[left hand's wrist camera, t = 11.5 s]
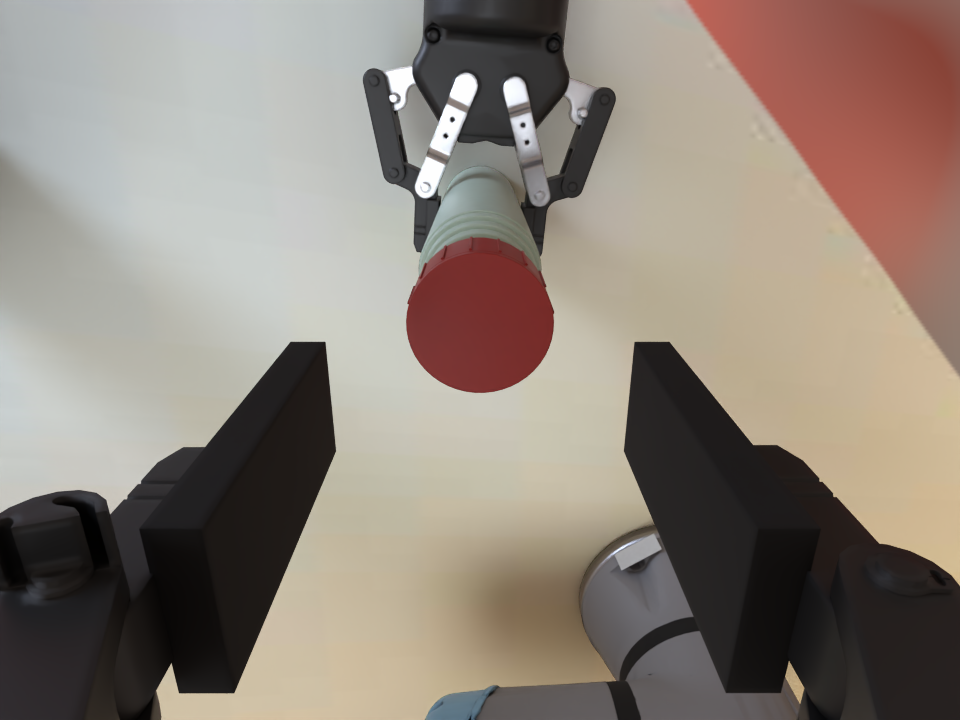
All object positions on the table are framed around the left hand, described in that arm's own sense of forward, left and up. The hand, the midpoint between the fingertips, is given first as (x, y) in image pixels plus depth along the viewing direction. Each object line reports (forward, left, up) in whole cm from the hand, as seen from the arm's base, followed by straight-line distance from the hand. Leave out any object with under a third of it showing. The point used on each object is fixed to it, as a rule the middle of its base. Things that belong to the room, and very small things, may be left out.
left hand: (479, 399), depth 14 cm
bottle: (0, 0, -31) cm, 31 cm away
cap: (0, 0, -5) cm, 5 cm away
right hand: (0, +3, -25) cm, 25 cm away
